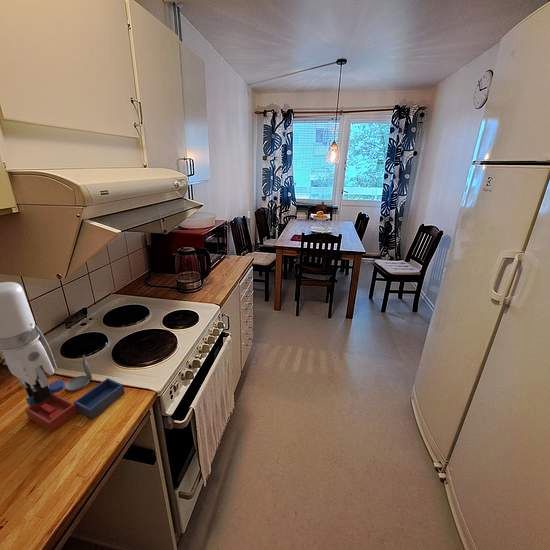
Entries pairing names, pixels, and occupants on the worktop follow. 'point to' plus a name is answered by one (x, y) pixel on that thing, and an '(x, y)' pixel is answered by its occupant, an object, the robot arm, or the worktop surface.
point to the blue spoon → (53, 388)
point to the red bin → (43, 418)
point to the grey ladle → (79, 379)
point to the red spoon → (50, 410)
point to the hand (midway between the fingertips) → (40, 398)
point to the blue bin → (99, 398)
